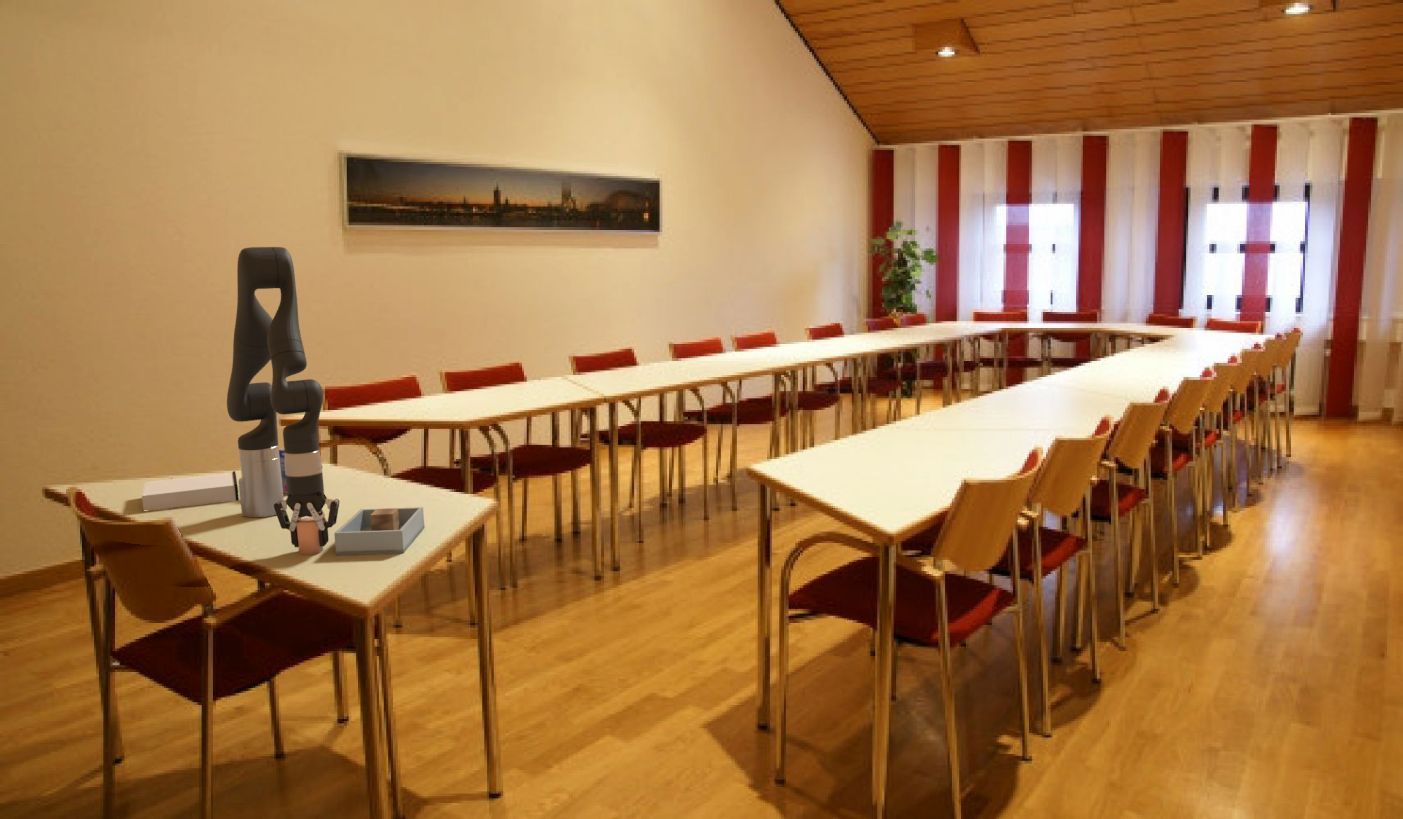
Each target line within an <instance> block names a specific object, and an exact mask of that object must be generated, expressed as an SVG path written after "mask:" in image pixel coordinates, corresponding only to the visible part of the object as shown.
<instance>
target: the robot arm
mask: <svg viewBox="0 0 1403 819" xmlns="http://www.w3.org/2000/svg"><path fill="white" fill-rule="evenodd" d="M237 257H238V258H237V267H236V268H237V274H236V275H237V280H236V281H237V282H236V283H237V302H236V303H237V306H236V316H235V323H234V331H233V332H234V334H233V343H232V344H233V345H232V346H233V347H232V348H233V349H232V350H233V351H232V366H231V372H230V373H231V374H230V379H229V383H228V388H227V393H226V407H227V412H228V416H229V418H230V419H231V420H232V421H234V422H242V423H243V422H251V421H259V423H258V425H257V426H255V428H253V429H252V430H250V431H247V432H246V433H244V434H241V435H240V436H239V437H238V438H237V439H238V440H237V447H238V454H239V467H240V474H241V478H239V479H238V492H239V498H240V499H239V501H240V509H241V516H242V517H249V518H267V517H272V516H276V517H277V520H278V523H279V525H280V528H281V529H282V530H288V531H289V532H290V539H291V540H290V541H291V545H293V546H294V548H298V537H297V526H296V523H297V522H298V521H299V520H301V519H303V518H306V517H307V518H311V517H313V519H314V521H315V522H316V523H317V525H318V527H319V529H320V530H319V541H320V547H325V546H326V545H327V543H329V529H330V528H332V527H333V526H334V525H336V523H337V521H338V513H339V507H340V500H339V499H338V498H335V499H332V498H328V497H327V496H326V494H325V486H324V475H323V464H322V457H321V453H320V444H319V431H318V430H319V429H318V428H319V421H320V415H321V410H322V406H323V401H324V390H323V388H322V386H321V384H320V383H319V382H318V381H317V380H315V379H311V378H310V379H309V378H308V379H299V380H289V381H288V380H286V379H287V378H289V377H291V376H293V375H297V374H299V373H302V372H304V370H305V369H306V367H307V357H306V352H305V348H304V345H303V340H302V337H301V336H302V334H301V330H300V324H299V322H300V321H299V309H298V306H299V305H298V296H297V286H296V277H295V276H296V275H295V269H294V268H295V267H294V262H293V258H292V255H291V253H290V251H289V250H288V249H287V248H285V247H282V246H281V247H279V246H258V247H257V246H255V247H253V246H251V247H245V248H242V249H241V250H240V252H239V254H238V256H237ZM263 289H264V290H265V289H267V290H269V289H279V290H280V302H279V305H278V308H277V310H276V312H275V314H274V316H273V318H272V317H271V315H270V314H269V312H267V310H266V309H265V308H264V307H263V306H262V304H261V303H260V302H259V300H258V298H257V296H256V293H255V292H256V291H257V290H263ZM269 362H271V368H272V370H271V371H272V381H271V383H270V382H264V381H263V382H254V383H251V382H252V380H253V379H254V378H255V377H256V376H257V375H258V374H259V372H261V371H262V370H263V369H264V367H266V366H267V364H268V363H269ZM301 413H302V414H304V415H303V417H302V419H300V420H298V421H296V422H294V423H290V424H288V425H286V426H284V428H283V429H282V440H283V447H284V448H283V449H284V451H285V460H284V464H285V475H286V485H287V493H286V494H287V498H286V499H285V500H284V493H283V487H282V477H281V467H280V456H279V450H280V448H279V447H280V446H279V436H278V435H279V434H278V431H279V430H278V420H277V418H278V417H277V414H279V415H283V416H284V415H285V416H286V415H292V414H301ZM325 505H326V506H327V507H326V508H327V509H328V510H329V511H328V517H327V519H326V515H325V512H324V511H323V510H324V509H323V508H324V507H325ZM288 507H289V508H290V510H291V511H292V516H291V518H290V519H289V515H288V513H287V509H288Z"/></svg>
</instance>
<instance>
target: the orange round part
mask: <svg viewBox="0 0 1403 819" xmlns="http://www.w3.org/2000/svg"><path fill="white" fill-rule="evenodd" d="M296 526H297V537H298V547H297V548H298V553H299V555H306V556H307V555H315V554H319V553H321V552H323V550H324V548H323V547H324V546H323V547H320V541H319V530H320V529H319V527H318V525H317V523H316V522H315V521H314V519H313V517H303V518H301V520H299V521H298V522H297V523H296Z"/></svg>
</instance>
